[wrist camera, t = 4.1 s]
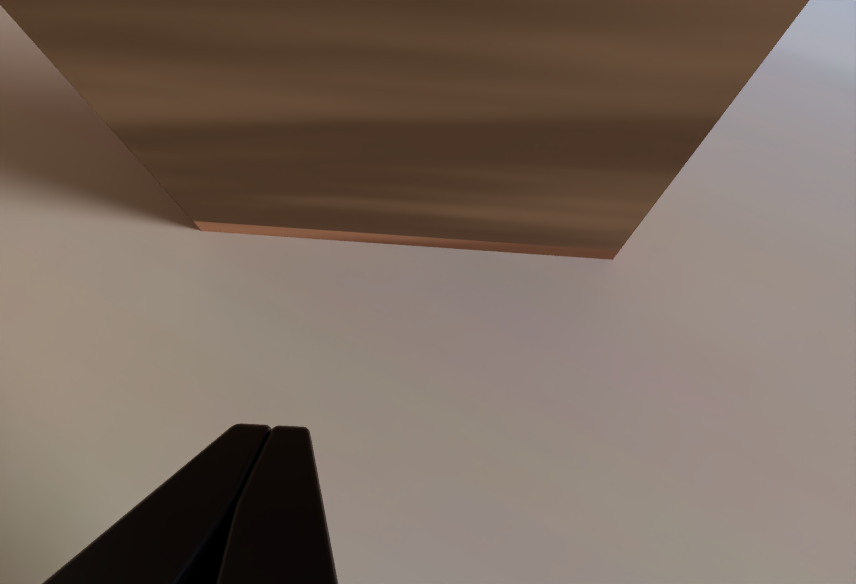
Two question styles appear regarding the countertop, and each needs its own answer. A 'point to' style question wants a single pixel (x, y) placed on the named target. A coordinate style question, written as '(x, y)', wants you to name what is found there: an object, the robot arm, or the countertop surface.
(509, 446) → the countertop surface
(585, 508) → the countertop surface
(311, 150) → the walnut slab
